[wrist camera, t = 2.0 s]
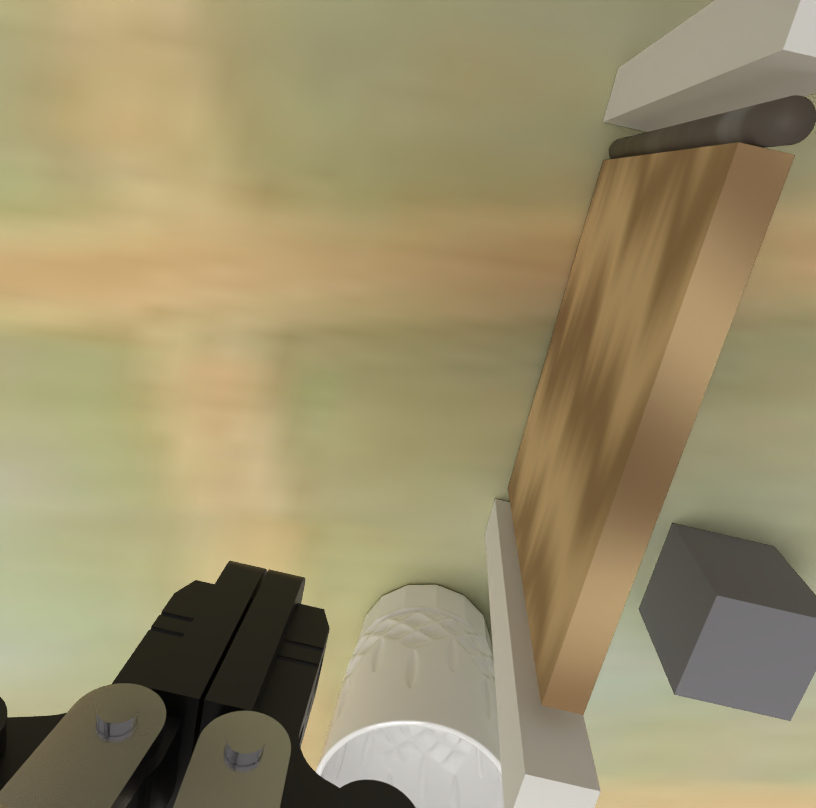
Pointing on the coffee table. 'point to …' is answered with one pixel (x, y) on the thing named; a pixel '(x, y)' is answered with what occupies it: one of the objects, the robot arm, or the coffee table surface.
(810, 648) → the grey cube-like block
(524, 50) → the coffee table surface
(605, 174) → the door
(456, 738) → the white cup
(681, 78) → the door frame
